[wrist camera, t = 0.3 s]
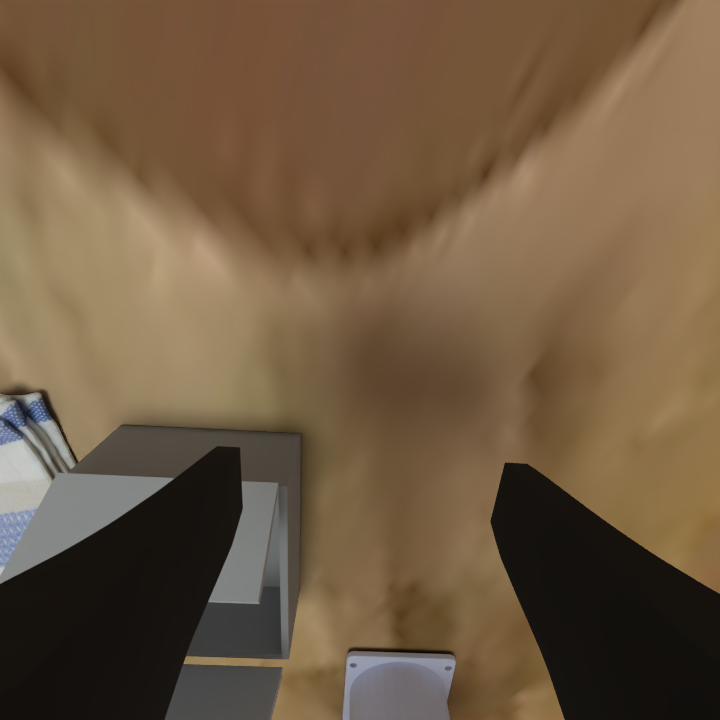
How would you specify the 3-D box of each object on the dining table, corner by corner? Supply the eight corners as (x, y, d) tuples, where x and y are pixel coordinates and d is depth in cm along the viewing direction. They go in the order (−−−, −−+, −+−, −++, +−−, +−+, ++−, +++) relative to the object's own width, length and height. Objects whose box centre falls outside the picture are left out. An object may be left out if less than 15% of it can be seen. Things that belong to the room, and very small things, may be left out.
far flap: (282, 667, 21) (281, 677, 21) (112, 661, 21) (110, 671, 21) (266, 730, 17) (264, 744, 17) (50, 724, 17) (48, 738, 16)
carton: (300, 586, 26) (288, 659, 21) (150, 581, 25) (109, 653, 21) (301, 433, 21) (287, 486, 17) (121, 424, 21) (62, 476, 17)
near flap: (260, 604, 14) (257, 602, 14) (0, 594, 14) (-10, 592, 13) (279, 487, 17) (277, 482, 16) (63, 477, 17) (57, 472, 16)
